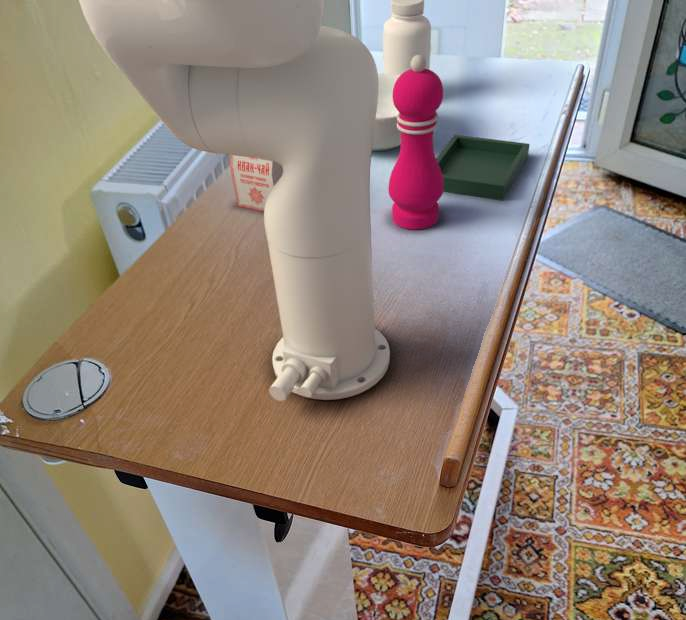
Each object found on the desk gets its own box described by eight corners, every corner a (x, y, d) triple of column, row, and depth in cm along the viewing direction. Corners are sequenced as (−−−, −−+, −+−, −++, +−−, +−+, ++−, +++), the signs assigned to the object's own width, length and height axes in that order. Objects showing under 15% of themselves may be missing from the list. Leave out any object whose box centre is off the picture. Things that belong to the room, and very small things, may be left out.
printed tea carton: (251, 194, 99) (239, 124, 91) (290, 202, 96) (281, 130, 89) (237, 205, 97) (224, 135, 89) (277, 214, 94) (267, 142, 87)
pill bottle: (430, 106, 116) (433, 4, 104) (383, 109, 116) (382, 8, 105) (427, 88, 121) (430, -10, 110) (382, 91, 121) (381, -7, 110)
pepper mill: (439, 233, 88) (447, 67, 73) (384, 230, 89) (382, 66, 75) (444, 206, 93) (453, 44, 78) (393, 203, 94) (392, 44, 79)
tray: (502, 200, 93) (504, 186, 91) (423, 188, 96) (424, 174, 95) (527, 157, 101) (529, 143, 99) (453, 148, 104) (454, 134, 103)
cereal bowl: (313, 160, 105) (309, 113, 99) (343, 116, 115) (341, 71, 110) (420, 168, 101) (421, 119, 95) (441, 122, 111) (443, 75, 106)
